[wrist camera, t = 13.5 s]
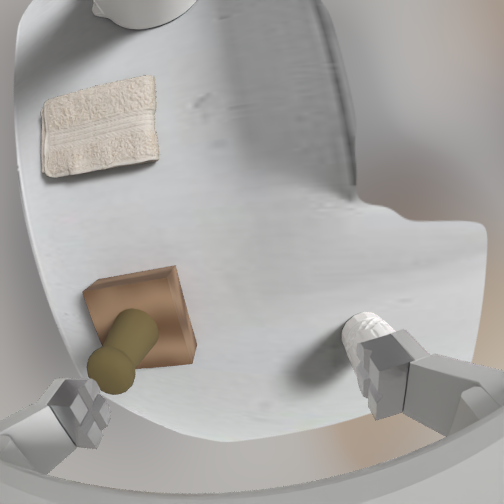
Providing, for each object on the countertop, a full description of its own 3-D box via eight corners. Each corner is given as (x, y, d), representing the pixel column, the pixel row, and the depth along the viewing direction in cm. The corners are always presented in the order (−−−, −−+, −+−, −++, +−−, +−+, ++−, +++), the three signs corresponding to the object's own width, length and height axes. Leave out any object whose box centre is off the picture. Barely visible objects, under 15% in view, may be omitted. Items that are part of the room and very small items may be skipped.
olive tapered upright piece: (120, 349, 37) (88, 399, 26) (110, 308, 36) (71, 352, 25) (162, 350, 37) (139, 406, 26) (154, 308, 36) (125, 356, 25)
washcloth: (47, 104, 34) (36, 101, 31) (158, 75, 34) (152, 68, 31) (49, 182, 37) (37, 183, 34) (162, 161, 37) (156, 160, 34)
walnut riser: (97, 279, 40) (82, 291, 35) (175, 265, 40) (166, 277, 35) (123, 352, 43) (112, 370, 38) (197, 344, 43) (192, 363, 38)
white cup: (332, 353, 44) (351, 394, 34) (343, 306, 42) (368, 341, 32) (378, 353, 44) (403, 390, 34) (390, 308, 42) (422, 339, 32)
